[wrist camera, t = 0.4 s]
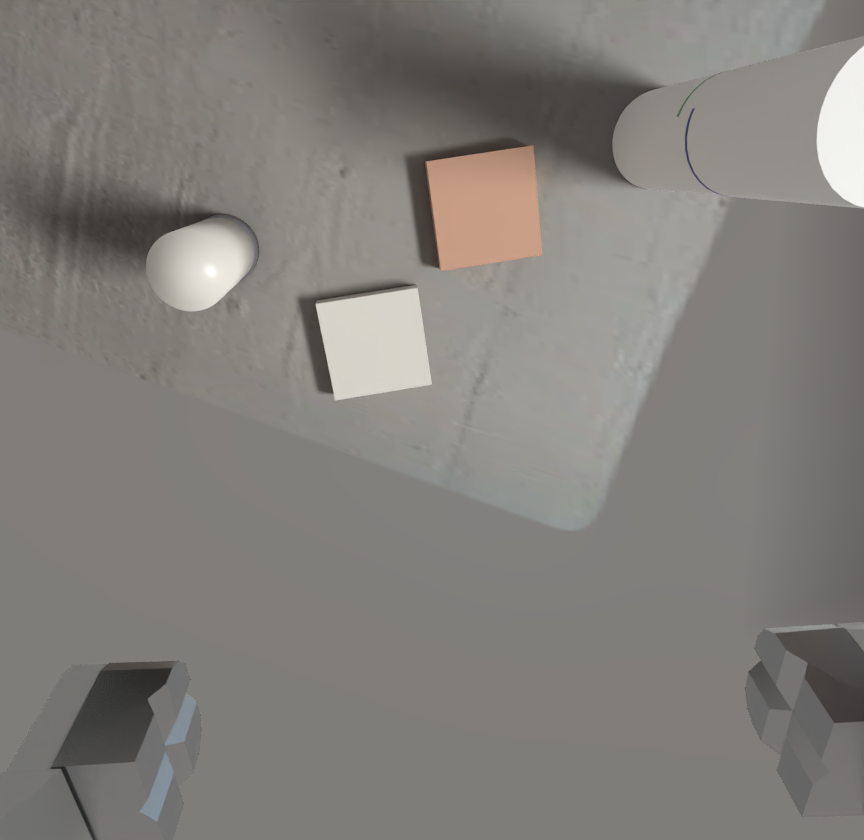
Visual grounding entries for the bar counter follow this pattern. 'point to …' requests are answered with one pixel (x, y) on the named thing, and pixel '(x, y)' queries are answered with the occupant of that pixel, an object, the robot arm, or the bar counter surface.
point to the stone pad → (374, 342)
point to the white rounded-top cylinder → (201, 261)
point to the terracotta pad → (484, 207)
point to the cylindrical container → (754, 131)
